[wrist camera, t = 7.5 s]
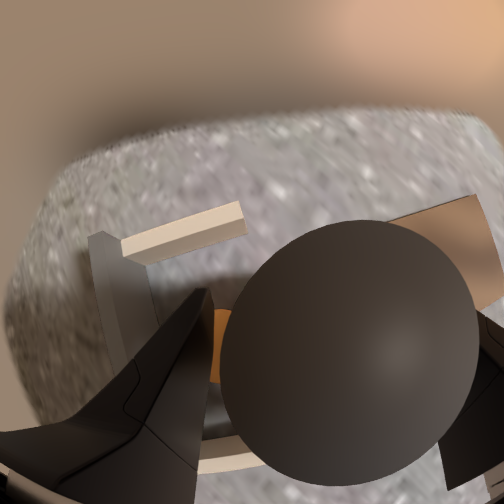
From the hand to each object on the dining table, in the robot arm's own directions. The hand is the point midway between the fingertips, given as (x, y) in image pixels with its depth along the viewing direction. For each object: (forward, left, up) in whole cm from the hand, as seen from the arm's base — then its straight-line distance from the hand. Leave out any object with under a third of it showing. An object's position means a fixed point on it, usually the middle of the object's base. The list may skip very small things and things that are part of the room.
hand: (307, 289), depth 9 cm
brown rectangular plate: (-1, -11, -8) cm, 13 cm away
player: (-1, 0, -8) cm, 8 cm away
